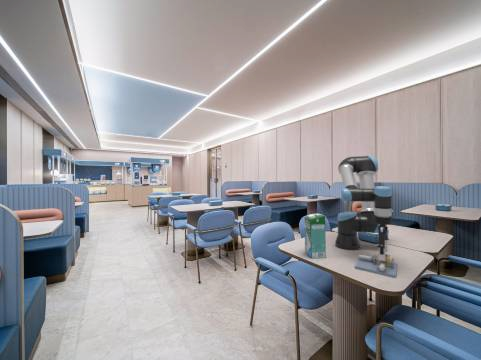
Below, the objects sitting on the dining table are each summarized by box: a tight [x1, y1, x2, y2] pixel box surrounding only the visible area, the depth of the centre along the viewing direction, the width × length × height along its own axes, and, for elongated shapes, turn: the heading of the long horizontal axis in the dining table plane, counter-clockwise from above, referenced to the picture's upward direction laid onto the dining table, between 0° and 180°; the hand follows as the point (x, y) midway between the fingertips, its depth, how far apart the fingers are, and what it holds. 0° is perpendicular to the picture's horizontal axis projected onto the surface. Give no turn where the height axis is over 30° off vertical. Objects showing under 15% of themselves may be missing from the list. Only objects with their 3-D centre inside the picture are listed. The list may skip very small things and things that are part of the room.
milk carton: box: [304, 213, 327, 259], centre depth 125 cm, size 9×9×25 cm
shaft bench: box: [354, 253, 398, 279], centre depth 107 cm, size 17×16×4 cm
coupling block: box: [377, 253, 391, 268], centre depth 107 cm, size 5×5×6 cm
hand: (383, 255), depth 108 cm, fingers open, 12 cm apart
